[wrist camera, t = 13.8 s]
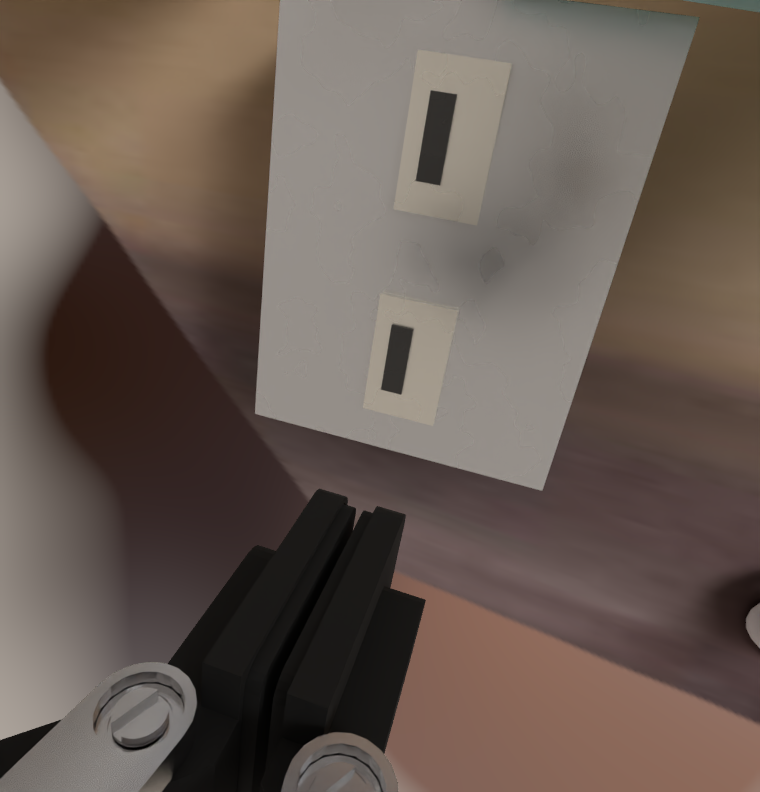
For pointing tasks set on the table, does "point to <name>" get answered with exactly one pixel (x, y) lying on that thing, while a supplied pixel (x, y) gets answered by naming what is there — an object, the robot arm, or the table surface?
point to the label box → (452, 215)
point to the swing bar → (733, 4)
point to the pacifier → (754, 624)
